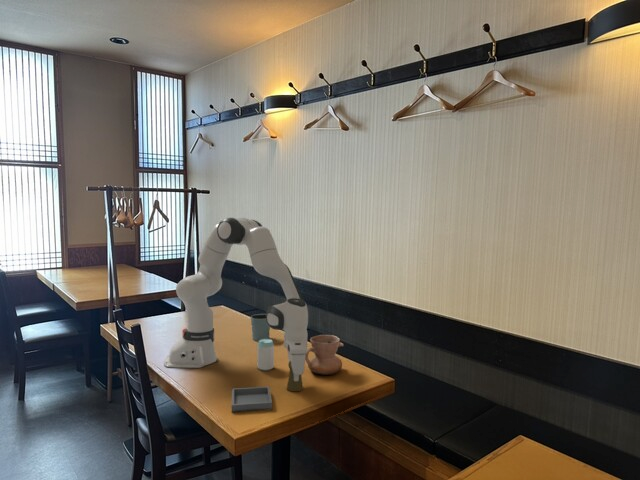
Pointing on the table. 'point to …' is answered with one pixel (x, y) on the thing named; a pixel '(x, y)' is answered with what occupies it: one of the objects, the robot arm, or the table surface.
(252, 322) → the grey teal cup
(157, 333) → the table surface
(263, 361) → the can
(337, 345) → the ceramic jug
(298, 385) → the olive tapered rounded piece
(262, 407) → the tray
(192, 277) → the robot arm
